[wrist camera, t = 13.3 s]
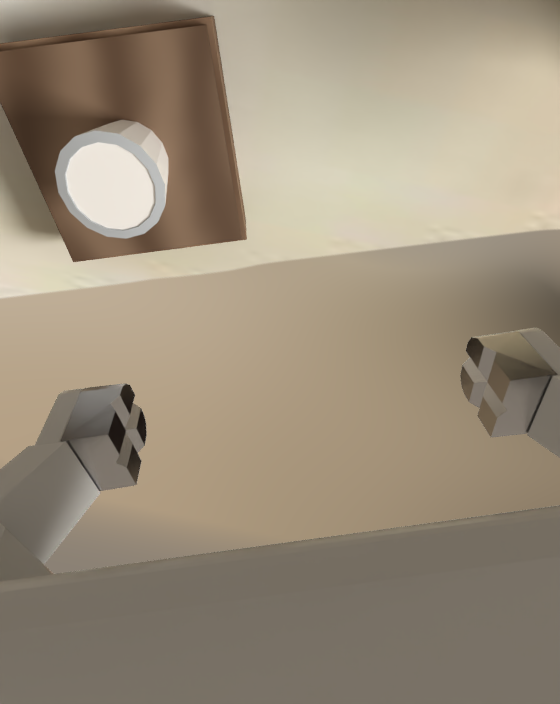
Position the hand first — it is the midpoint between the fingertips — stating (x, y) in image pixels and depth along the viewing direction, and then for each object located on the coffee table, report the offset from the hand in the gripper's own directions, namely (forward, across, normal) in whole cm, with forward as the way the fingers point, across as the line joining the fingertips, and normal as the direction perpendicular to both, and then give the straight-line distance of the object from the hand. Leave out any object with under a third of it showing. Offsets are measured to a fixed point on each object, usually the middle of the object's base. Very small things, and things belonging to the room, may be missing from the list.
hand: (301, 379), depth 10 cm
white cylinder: (+28, +10, +1) cm, 30 cm away
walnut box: (+34, +10, +1) cm, 36 cm away
